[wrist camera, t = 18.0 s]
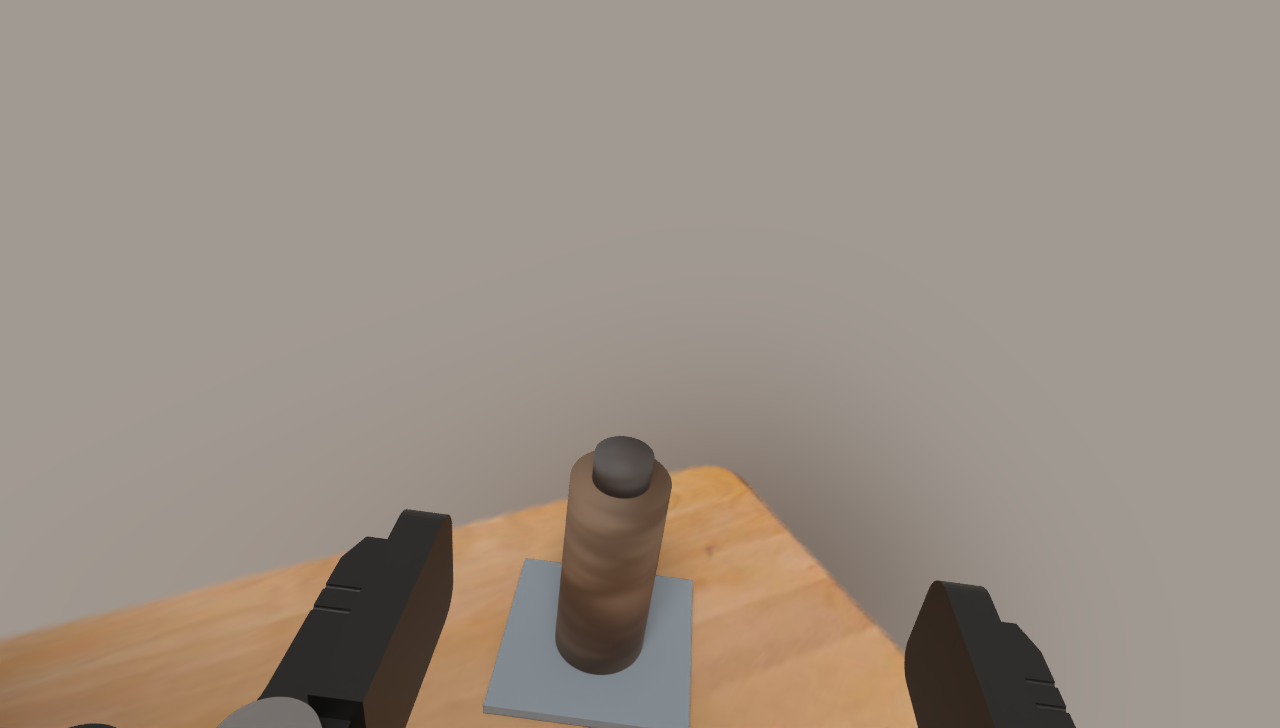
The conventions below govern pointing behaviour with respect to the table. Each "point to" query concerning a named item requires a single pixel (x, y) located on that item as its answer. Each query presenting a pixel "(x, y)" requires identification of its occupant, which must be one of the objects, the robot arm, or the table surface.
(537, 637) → the mat
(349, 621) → the robot arm
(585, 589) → the pepper mill
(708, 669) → the table surface
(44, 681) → the table surface
